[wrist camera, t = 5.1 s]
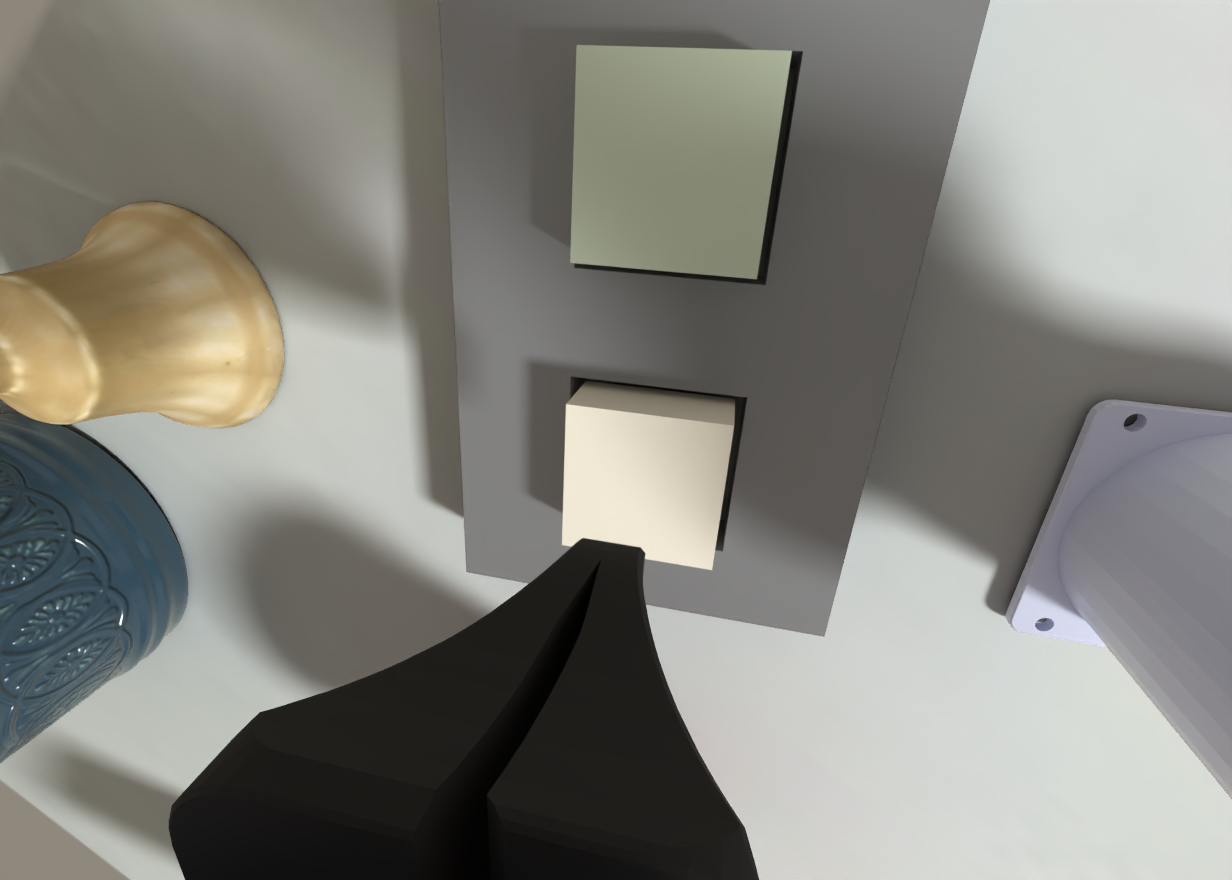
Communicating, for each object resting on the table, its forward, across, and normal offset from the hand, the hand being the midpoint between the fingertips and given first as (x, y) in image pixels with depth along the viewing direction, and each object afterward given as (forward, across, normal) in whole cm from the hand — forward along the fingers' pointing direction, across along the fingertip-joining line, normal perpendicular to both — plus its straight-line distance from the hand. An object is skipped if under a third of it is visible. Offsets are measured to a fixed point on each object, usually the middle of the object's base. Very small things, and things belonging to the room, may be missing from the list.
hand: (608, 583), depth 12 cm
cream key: (+6, 0, 0) cm, 6 cm away
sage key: (+6, 0, -8) cm, 10 cm away
